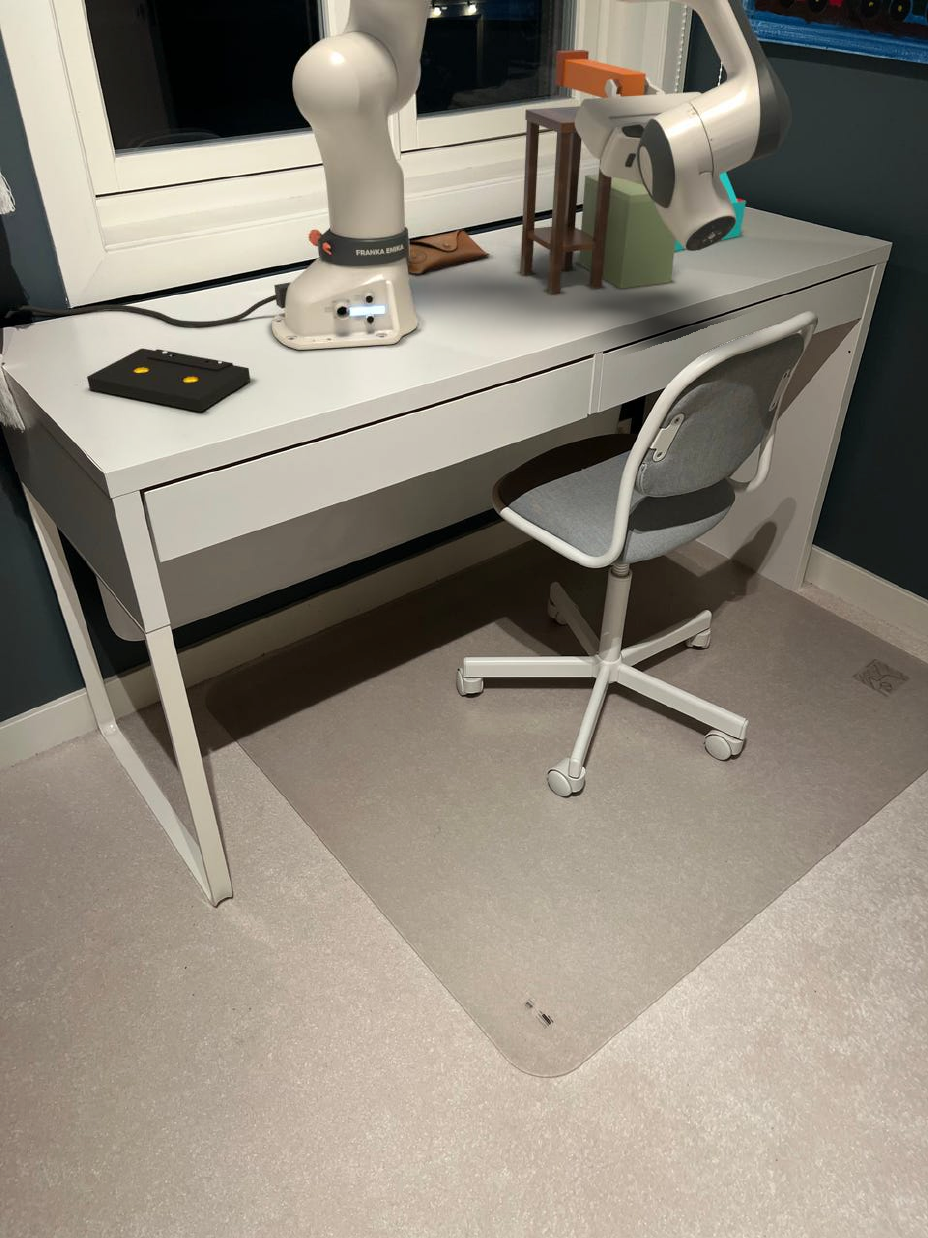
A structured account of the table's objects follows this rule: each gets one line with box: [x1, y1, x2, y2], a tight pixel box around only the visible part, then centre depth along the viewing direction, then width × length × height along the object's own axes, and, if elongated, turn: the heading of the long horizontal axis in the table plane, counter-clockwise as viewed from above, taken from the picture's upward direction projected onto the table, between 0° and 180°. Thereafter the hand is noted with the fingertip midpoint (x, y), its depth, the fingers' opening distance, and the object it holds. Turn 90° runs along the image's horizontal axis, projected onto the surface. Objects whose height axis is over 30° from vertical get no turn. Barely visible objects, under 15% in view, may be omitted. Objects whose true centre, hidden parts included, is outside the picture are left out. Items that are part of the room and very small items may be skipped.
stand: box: [519, 105, 612, 295], centre depth 159 cm, size 10×13×26 cm
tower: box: [554, 49, 647, 98], centre depth 141 cm, size 5×20×5 cm, turn 22°
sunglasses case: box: [408, 228, 491, 275], centre depth 174 cm, size 18×7×7 cm, turn 132°
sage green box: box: [578, 173, 676, 290], centre depth 166 cm, size 10×16×15 cm, turn 22°
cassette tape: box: [86, 348, 251, 412], centre depth 128 cm, size 18×12×2 cm, turn 67°
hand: (625, 82), depth 136 cm, fingers closed on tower, 3 cm apart
